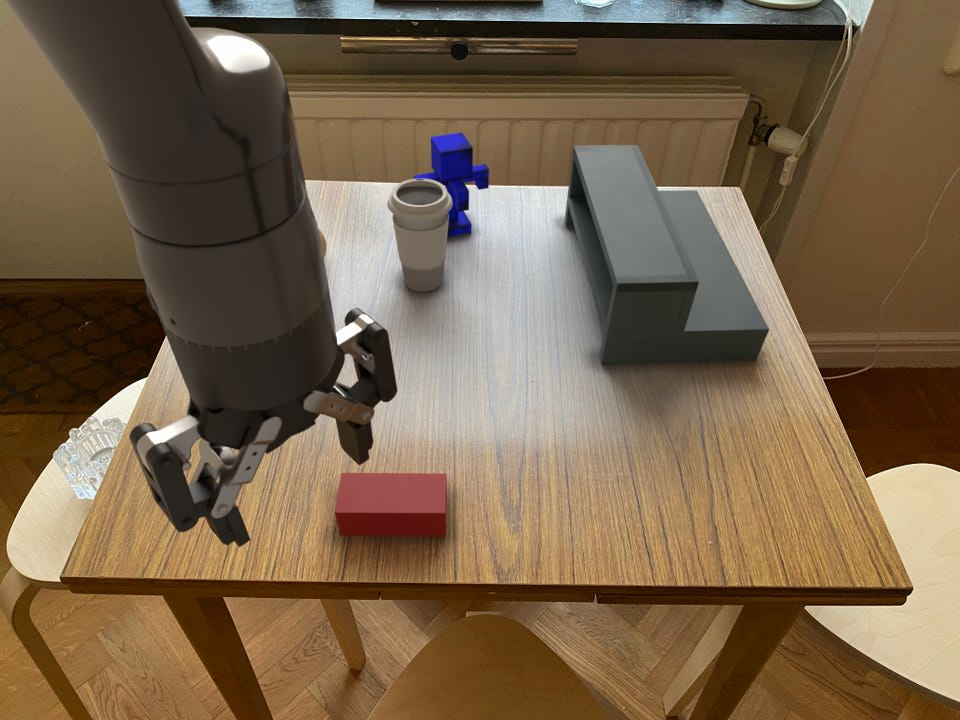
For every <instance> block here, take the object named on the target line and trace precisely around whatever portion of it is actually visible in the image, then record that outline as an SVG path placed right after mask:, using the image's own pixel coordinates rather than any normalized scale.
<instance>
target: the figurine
mask: <svg viewBox="0 0 960 720" xmlns="http://www.w3.org/2000/svg"><path fill="white" fill-rule="evenodd" d="M469 141H470V140H468V139H467V137H466V136H465V134H464V133H463V132H455V133H449V134H442V135H435V136H430V158H431V159H430V160H431V163H430V164H431V168H432V170H433V172H426V173H421V174H414V175H413V179H419V178H421V179H430V180H434V181H437V182H439V183H441V184H442V185H444V186H445V188H446V189H447V192H448V193H449V194H450V196H451V198H452V201H453V205H452V208H451V209H450V211H449V212H448V215H449V220H448V233H447V238H450V237H455V236H461V235H466V234H472V231H473V229H472V227H473V226H472V222H471V220H470V219H469V217H468V215H467V214H466V212H467V211H469V210H470V189H469V188H468V187H467V185H466V184H467V183H472V182H474V185H475V187H476V188H477V190H478V191H479V190H485V189H486V190H487V189H489V185H490V168H489V167H488V165H487V164H486V163H483V164H478V165H474V147H473V145H472V144H471V143H470V142H469Z"/></svg>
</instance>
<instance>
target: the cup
mask: <svg viewBox="0 0 960 720" xmlns="http://www.w3.org/2000/svg"><path fill="white" fill-rule="evenodd" d="M386 203H387V208H388V210H389V211H390V212H391V213H392V216H391V217H392V223H393V229H394V233H395V234H394V235H395V241H396V247H397V254H398V259H399V261H400V264H401V270H402V276H403V282H404V284H405V286H406V287H407V288H408V289H410V290H411V291H413V292H418V293H426V292H432V291H435V290H436V289H438V288H439V287H441V285H442V284H443V279H444V269H445V267H444V266H445V260H446V256H447V245H448V244H447V243H448V237H447V233H448V220H449V215H448V212H449V211H450V209H451V208H452V205H453V201H452V198H451V196H450V194H449V193H448V192H447V189H446V188H445V186H444V185H442V184H441V183H439V182H437V181H434V180H430V179H421V178H419V179H414V178H411V179H407V180H403V181H401V182H399V183H398V184H396V185H395V186H394V187H393V188H392V191H391V193H390V195H389V197H388V199H387V202H386Z"/></svg>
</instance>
